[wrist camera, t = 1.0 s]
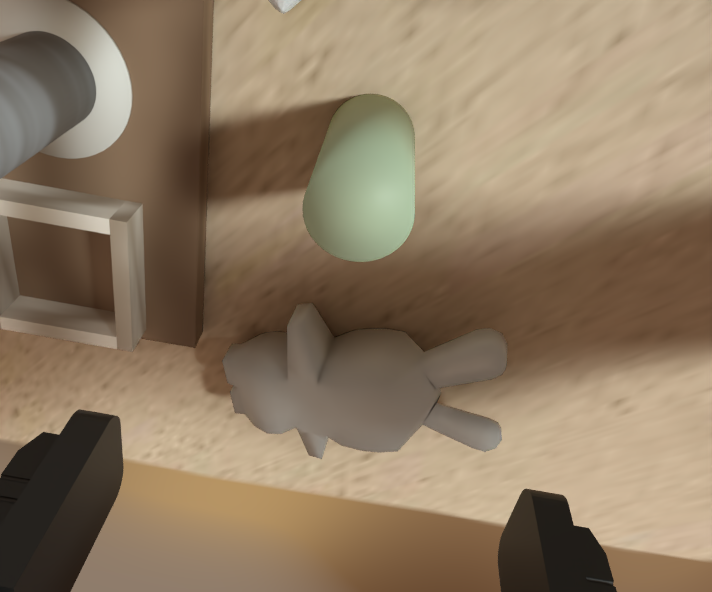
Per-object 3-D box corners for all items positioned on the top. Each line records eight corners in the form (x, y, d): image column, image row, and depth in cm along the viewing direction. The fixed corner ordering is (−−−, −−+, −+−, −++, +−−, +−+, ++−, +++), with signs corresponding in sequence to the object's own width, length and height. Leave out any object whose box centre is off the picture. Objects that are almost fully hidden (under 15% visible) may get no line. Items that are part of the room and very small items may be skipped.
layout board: (214, -11, 26) (127, 34, 18) (202, 331, 36) (142, 457, 28) (-101, -71, 26) (-329, -51, 18) (-25, 291, 36) (-150, 407, 28)
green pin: (422, 102, 28) (425, 171, 21) (404, 185, 30) (402, 270, 24) (334, 86, 28) (309, 149, 21) (322, 170, 30) (296, 251, 23)
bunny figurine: (199, 337, 31) (509, 355, 28) (235, 282, 35) (508, 293, 32) (234, 468, 36) (499, 495, 33) (261, 407, 41) (500, 426, 38)
